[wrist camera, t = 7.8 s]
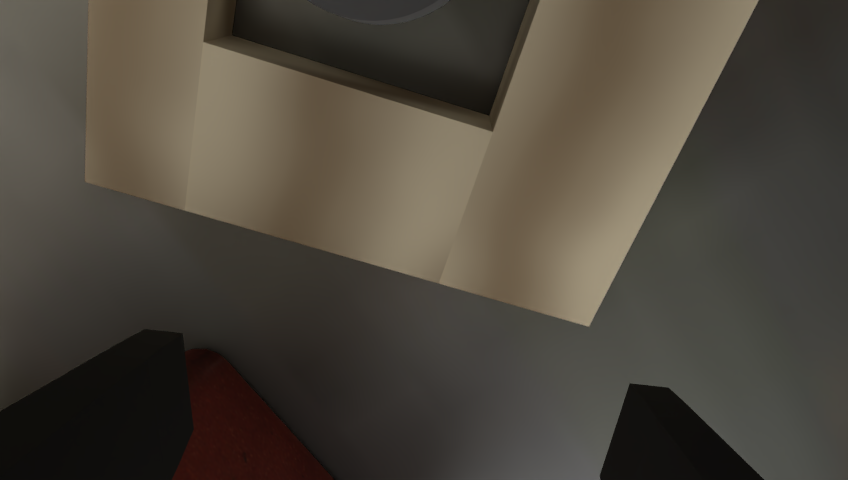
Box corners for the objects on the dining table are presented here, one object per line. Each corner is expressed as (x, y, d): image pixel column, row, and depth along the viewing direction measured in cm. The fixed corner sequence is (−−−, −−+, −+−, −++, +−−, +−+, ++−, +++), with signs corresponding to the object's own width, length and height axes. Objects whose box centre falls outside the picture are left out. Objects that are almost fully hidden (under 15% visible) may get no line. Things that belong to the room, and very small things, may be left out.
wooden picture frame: (809, -179, 13) (865, -204, 11) (576, 294, 19) (588, 326, 17) (152, -422, 12) (98, -494, 10) (122, 161, 18) (84, 181, 16)
